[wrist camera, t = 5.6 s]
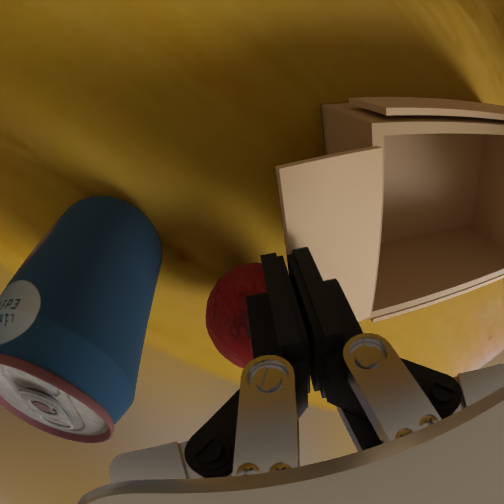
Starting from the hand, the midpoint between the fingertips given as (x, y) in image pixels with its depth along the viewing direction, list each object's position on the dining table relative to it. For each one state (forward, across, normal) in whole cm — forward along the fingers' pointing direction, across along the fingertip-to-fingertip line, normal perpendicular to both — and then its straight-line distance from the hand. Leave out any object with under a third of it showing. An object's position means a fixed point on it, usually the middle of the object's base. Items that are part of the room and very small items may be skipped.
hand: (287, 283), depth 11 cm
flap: (+1, -2, 0) cm, 2 cm away
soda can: (+8, +10, 0) cm, 12 cm away
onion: (+8, +2, +5) cm, 10 cm away
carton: (+8, -10, 0) cm, 13 cm away
